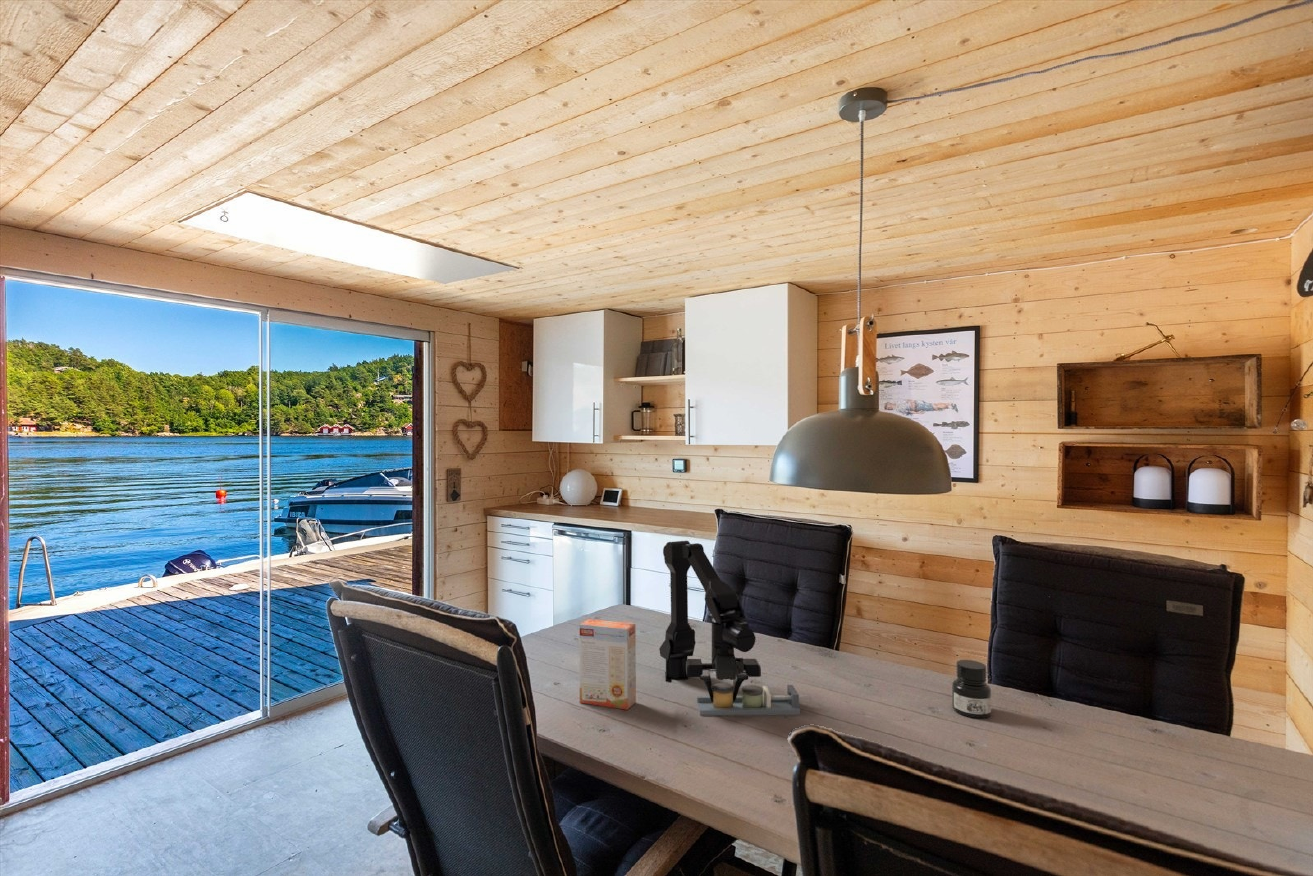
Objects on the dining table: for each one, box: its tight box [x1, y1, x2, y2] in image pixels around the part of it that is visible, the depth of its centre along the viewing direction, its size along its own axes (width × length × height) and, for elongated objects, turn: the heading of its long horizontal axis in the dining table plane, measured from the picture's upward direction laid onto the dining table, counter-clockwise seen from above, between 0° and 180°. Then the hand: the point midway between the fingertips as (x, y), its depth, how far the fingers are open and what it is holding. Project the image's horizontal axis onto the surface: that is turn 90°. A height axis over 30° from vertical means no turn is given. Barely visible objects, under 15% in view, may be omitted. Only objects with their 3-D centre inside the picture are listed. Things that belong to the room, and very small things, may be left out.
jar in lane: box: [741, 684, 763, 708], centre depth 159 cm, size 5×5×5 cm
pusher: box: [761, 685, 813, 708], centre depth 159 cm, size 12×6×4 cm, turn 91°
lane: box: [696, 684, 801, 716], centre depth 159 cm, size 25×9×5 cm, turn 91°
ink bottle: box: [951, 659, 992, 719], centre depth 158 cm, size 10×9×12 cm
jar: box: [712, 682, 733, 708], centre depth 158 cm, size 5×5×5 cm
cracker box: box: [578, 618, 637, 711], centre depth 163 cm, size 14×6×21 cm, turn 69°
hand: (722, 701), depth 158 cm, fingers closed on jar, 5 cm apart
